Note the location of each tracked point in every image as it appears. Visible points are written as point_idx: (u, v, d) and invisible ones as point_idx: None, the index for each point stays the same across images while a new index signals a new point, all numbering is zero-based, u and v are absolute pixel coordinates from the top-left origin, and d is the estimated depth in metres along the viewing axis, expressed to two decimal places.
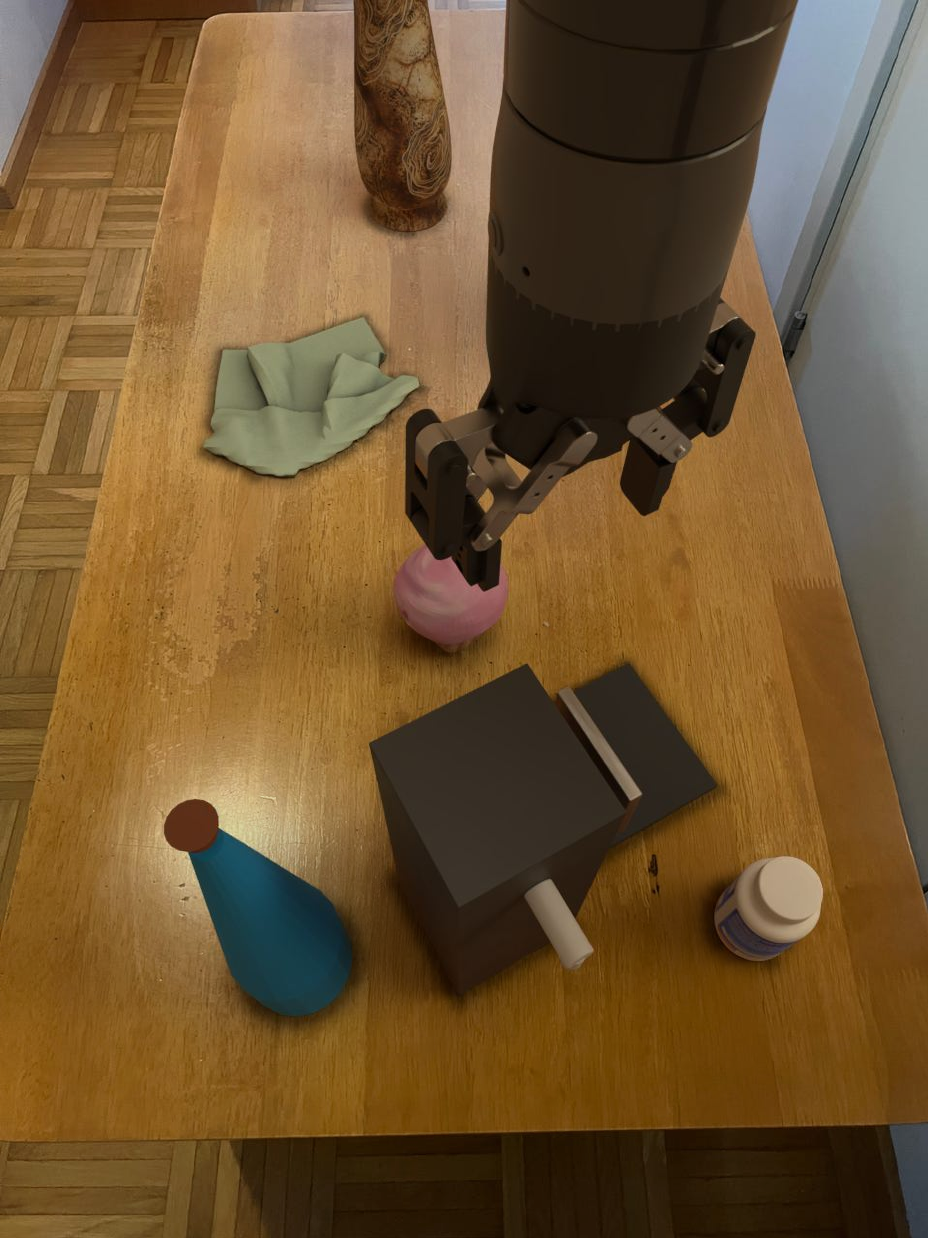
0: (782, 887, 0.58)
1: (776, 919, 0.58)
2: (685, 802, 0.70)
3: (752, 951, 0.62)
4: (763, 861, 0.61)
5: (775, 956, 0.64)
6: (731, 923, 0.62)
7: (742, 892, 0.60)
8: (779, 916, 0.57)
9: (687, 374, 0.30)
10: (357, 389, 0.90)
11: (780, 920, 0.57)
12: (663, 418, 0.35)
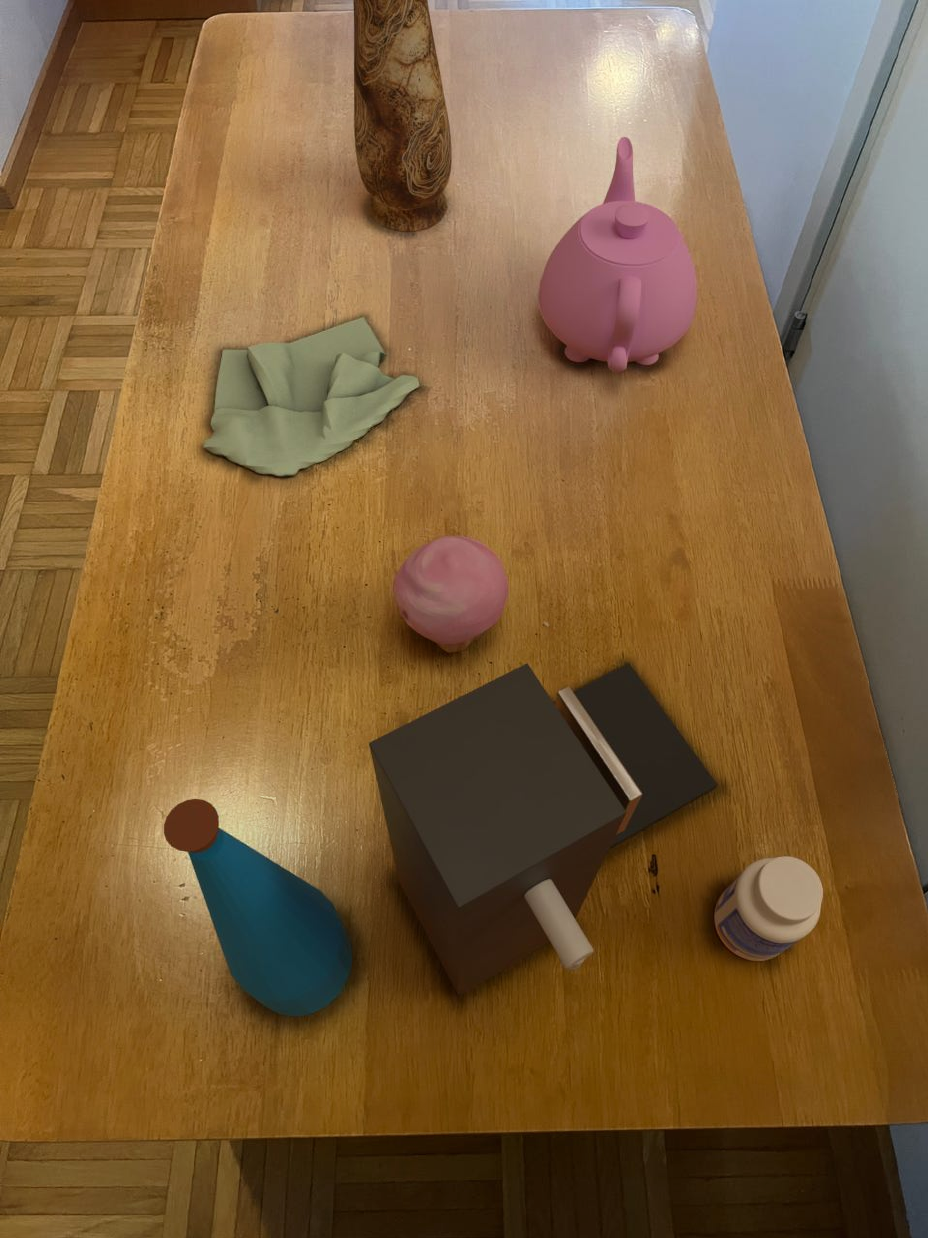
0: (782, 887, 0.58)
1: (776, 919, 0.58)
2: (685, 802, 0.70)
3: (752, 951, 0.62)
4: (763, 861, 0.61)
5: (775, 956, 0.64)
6: (731, 923, 0.62)
7: (742, 892, 0.60)
8: (779, 916, 0.57)
9: None
10: (357, 389, 0.90)
11: (780, 920, 0.57)
12: None
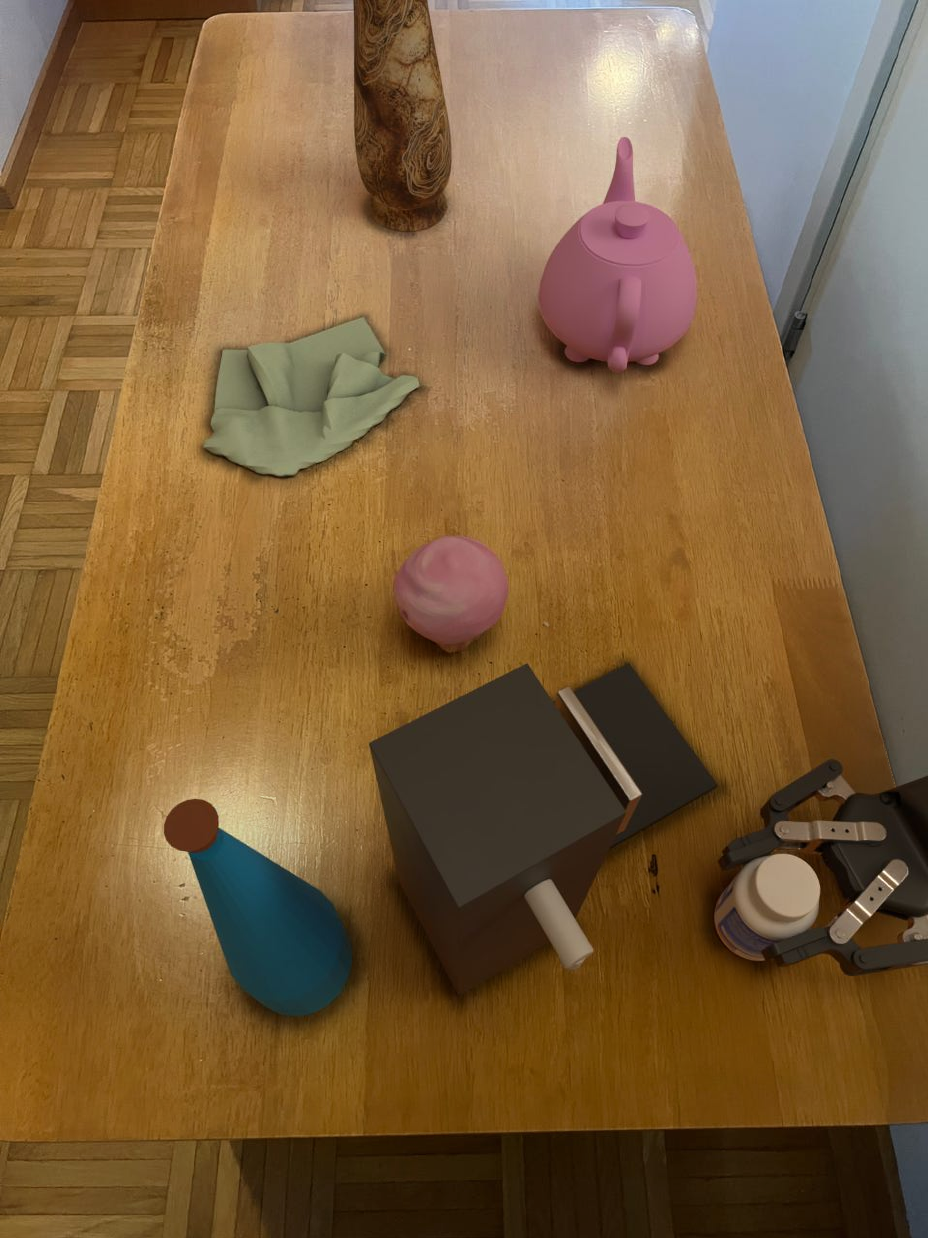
0: (779, 884, 0.58)
1: (773, 916, 0.58)
2: (685, 802, 0.70)
3: (751, 950, 0.62)
4: (761, 859, 0.61)
5: None
6: (729, 922, 0.62)
7: (740, 890, 0.60)
8: (776, 913, 0.57)
9: None
10: (357, 389, 0.90)
11: (777, 917, 0.57)
12: (889, 893, 0.58)
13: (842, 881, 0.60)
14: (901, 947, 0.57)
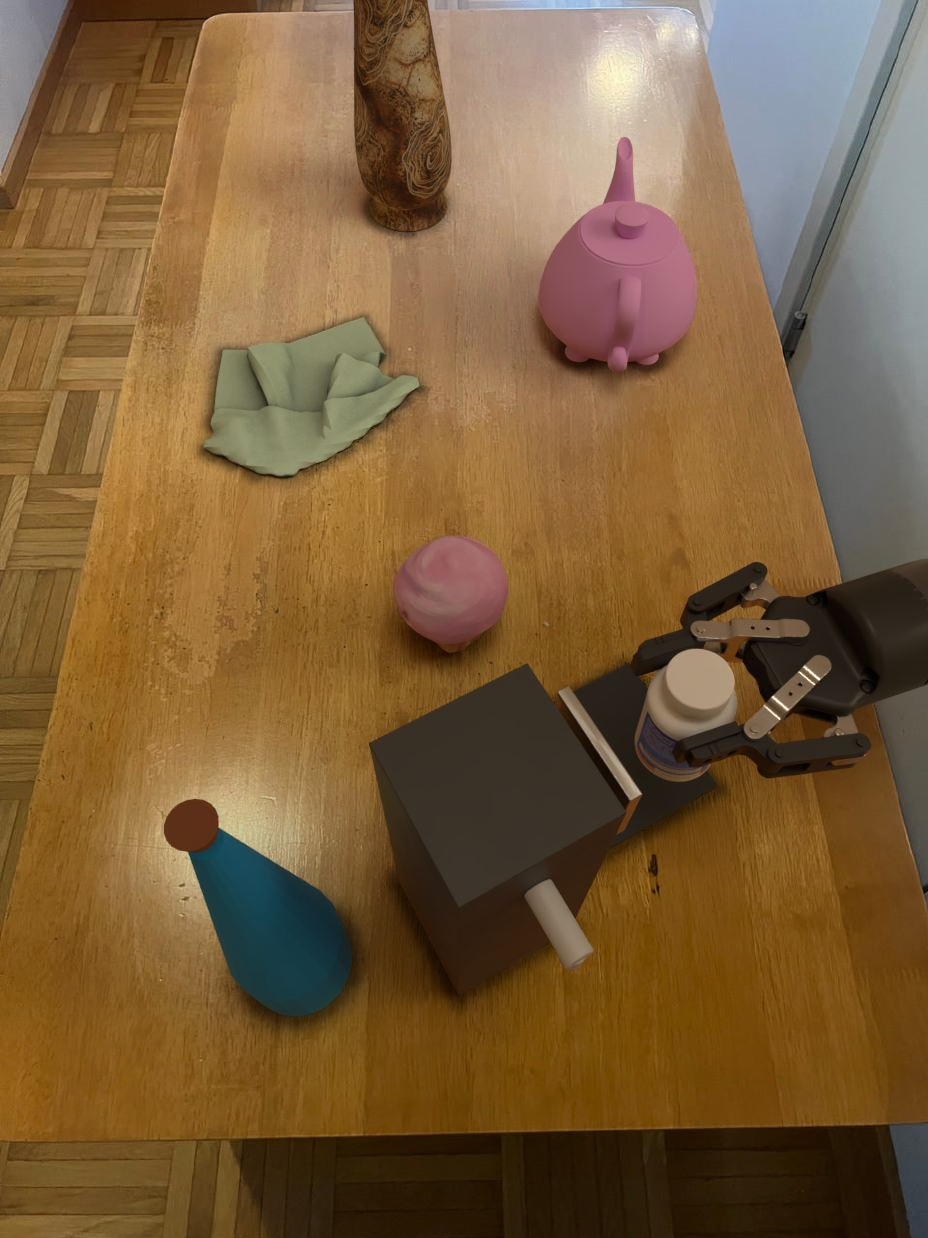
0: (690, 677, 0.54)
1: (684, 712, 0.54)
2: (685, 802, 0.70)
3: (668, 764, 0.58)
4: None
5: (697, 775, 0.60)
6: (645, 733, 0.58)
7: (652, 692, 0.56)
8: (686, 706, 0.53)
9: (886, 631, 0.54)
10: (357, 389, 0.90)
11: (688, 712, 0.53)
12: (810, 688, 0.54)
13: (762, 683, 0.56)
14: (820, 742, 0.53)
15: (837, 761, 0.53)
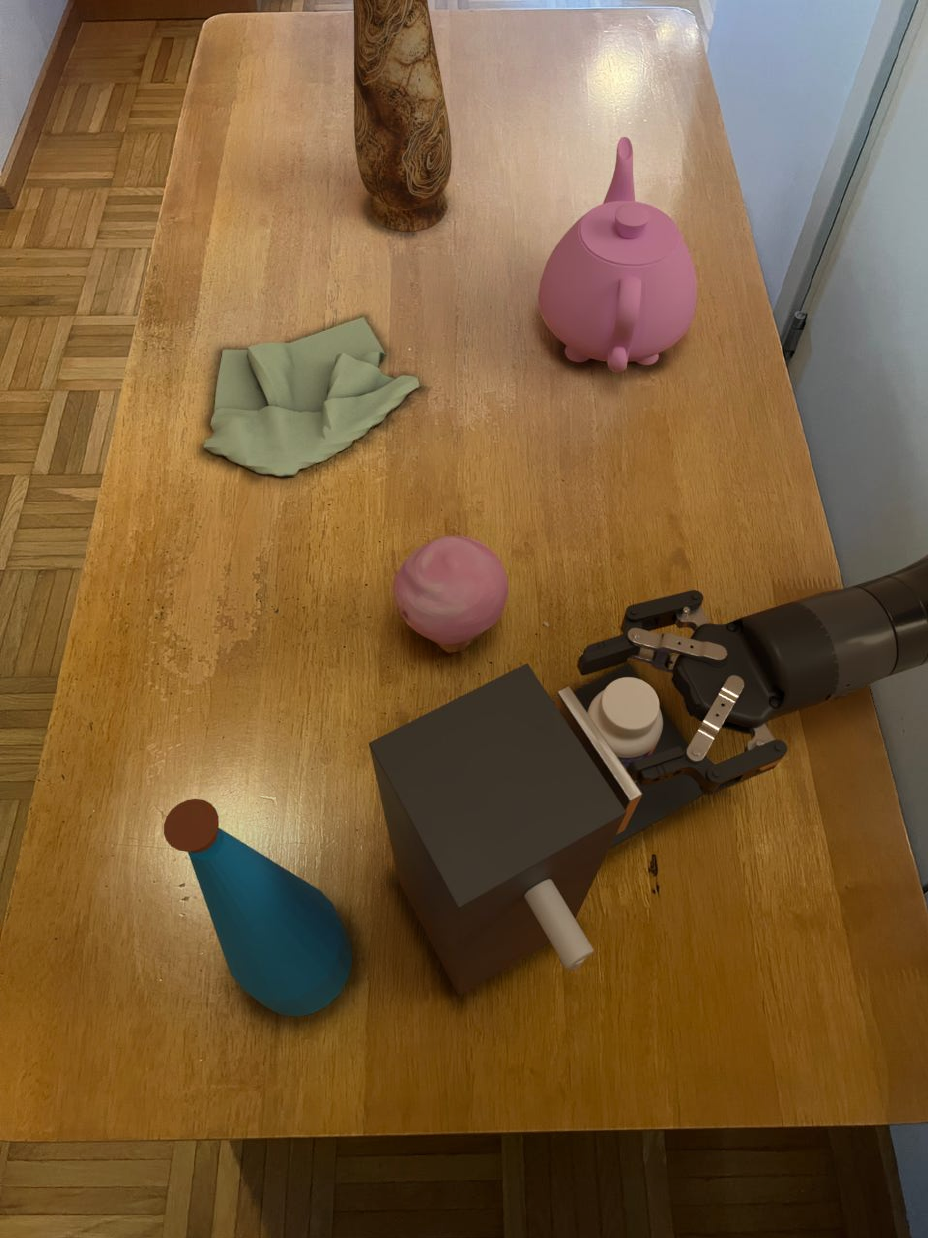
0: (622, 702, 0.63)
1: (616, 731, 0.63)
2: (685, 802, 0.70)
3: None
4: None
5: None
6: None
7: (591, 713, 0.66)
8: (618, 727, 0.63)
9: (790, 655, 0.63)
10: (357, 389, 0.90)
11: (620, 731, 0.63)
12: (732, 706, 0.63)
13: (687, 699, 0.65)
14: (747, 755, 0.62)
15: (763, 767, 0.62)
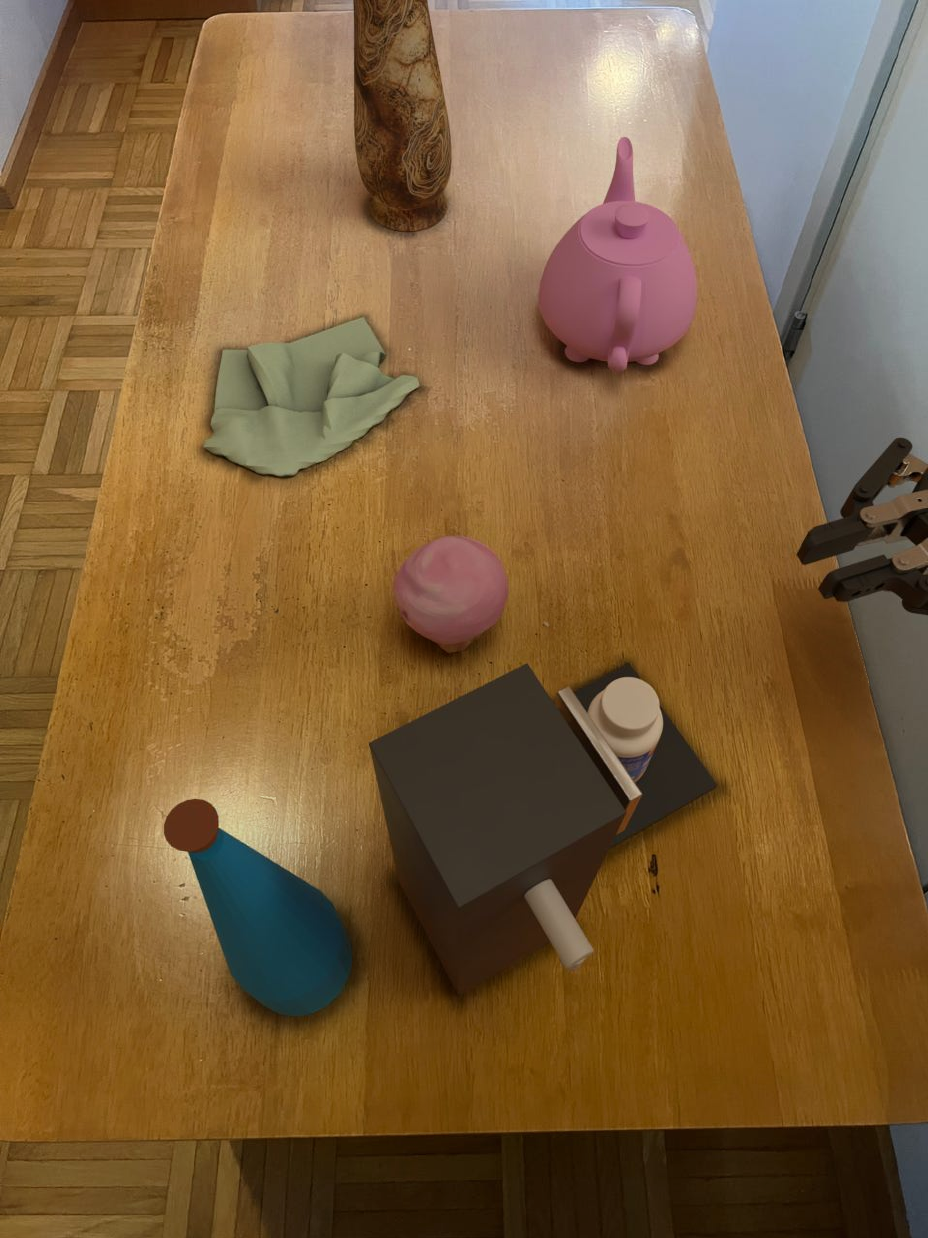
0: (622, 702, 0.63)
1: (616, 731, 0.63)
2: (685, 802, 0.70)
3: None
4: None
5: None
6: None
7: (591, 712, 0.66)
8: (618, 726, 0.63)
9: None
10: (357, 389, 0.90)
11: (620, 731, 0.63)
12: None
13: None
14: None
15: None
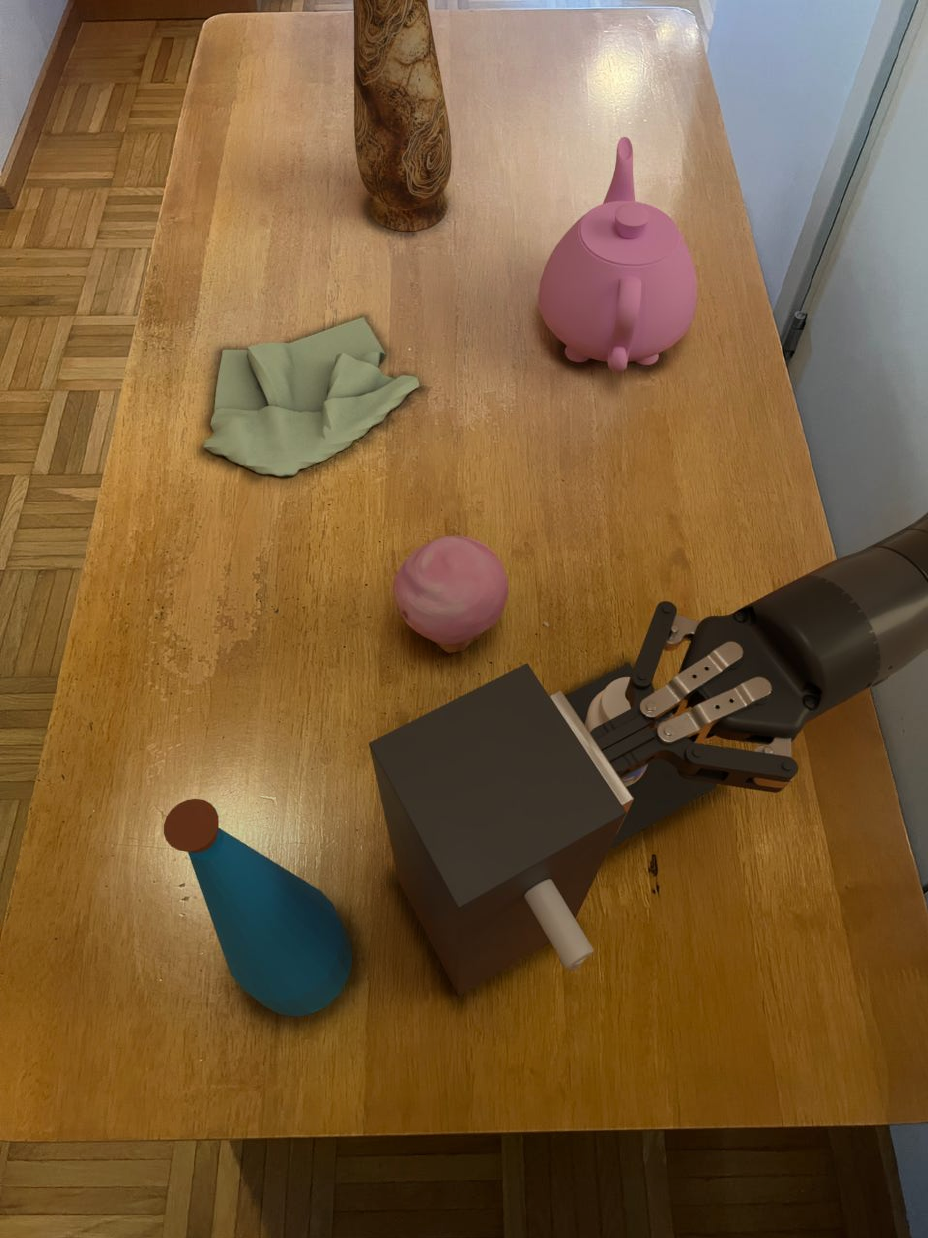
0: (622, 702, 0.63)
1: None
2: (685, 802, 0.70)
3: None
4: None
5: (631, 783, 0.70)
6: None
7: (591, 712, 0.66)
8: None
9: (822, 643, 0.51)
10: (357, 389, 0.90)
11: None
12: (741, 707, 0.51)
13: None
14: (744, 754, 0.50)
15: (759, 780, 0.50)
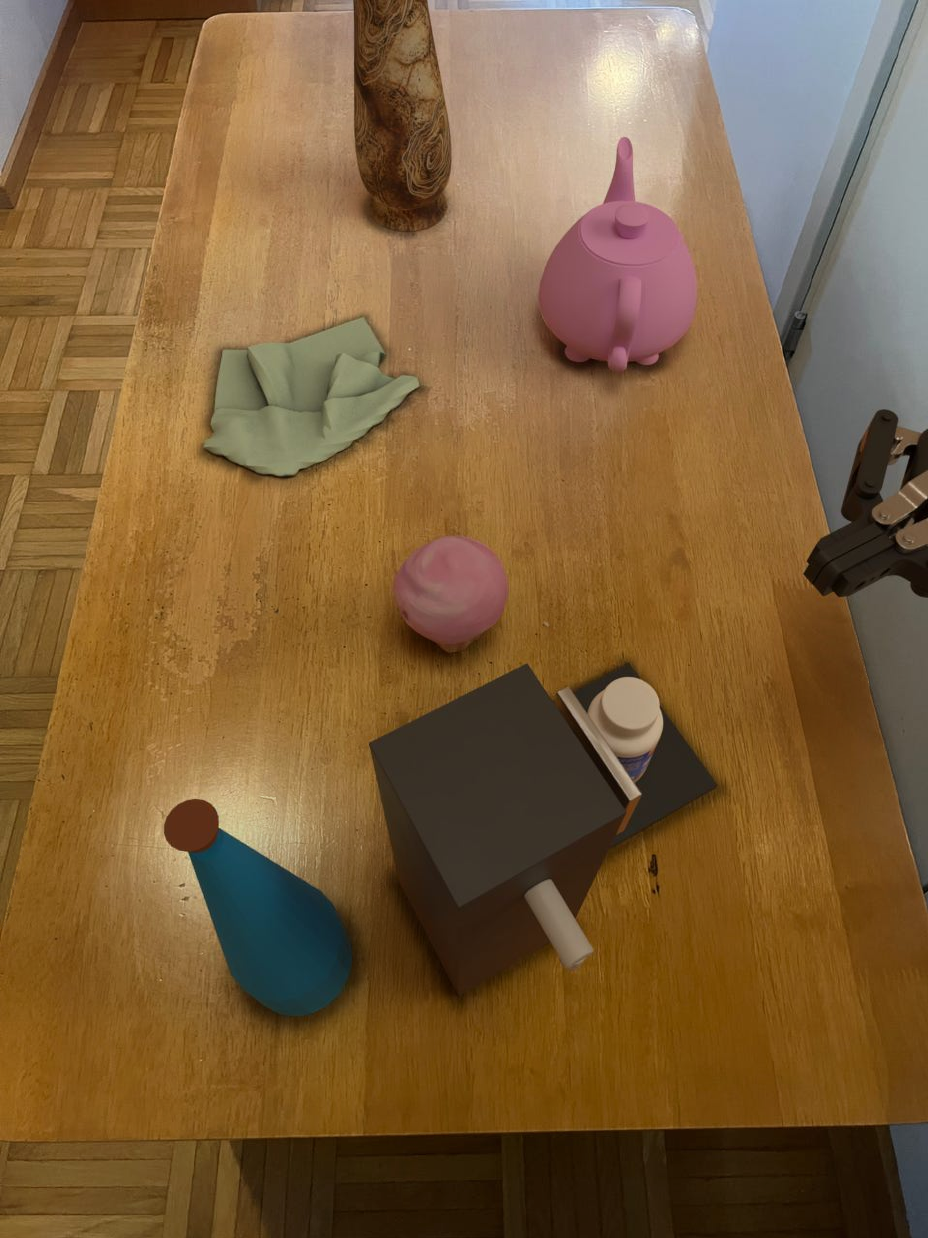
0: (622, 702, 0.63)
1: (617, 731, 0.63)
2: (685, 802, 0.70)
3: None
4: None
5: None
6: None
7: (591, 712, 0.66)
8: (618, 726, 0.63)
9: None
10: (357, 389, 0.90)
11: (620, 731, 0.63)
12: None
13: None
14: None
15: None
